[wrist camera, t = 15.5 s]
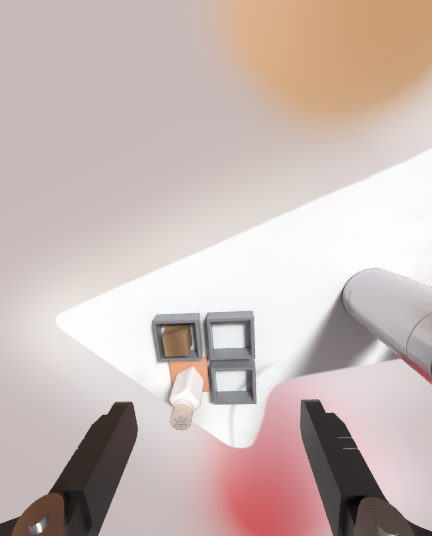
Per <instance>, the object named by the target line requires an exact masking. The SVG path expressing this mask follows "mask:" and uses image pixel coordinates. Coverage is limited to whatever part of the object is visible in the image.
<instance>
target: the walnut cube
mask: <svg viewBox="0 0 432 536" xmlns="http://www.w3.org/2000/svg"><path fill="white" fill-rule="evenodd" d="M162 339H163V345H164V352H165V357H172V356H189V353H190V349H191V345H192V336H191V329H190V323H179V324H168V325H167V327H166V329H165V331H164V333H163V335H162Z"/></svg>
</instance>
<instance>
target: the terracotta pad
mask: <svg viewBox="0 0 432 536" xmlns="http://www.w3.org/2000/svg"><path fill="white" fill-rule="evenodd" d="M169 365H170V372H171V379H172V386H173V385H174V382H175V379H176V376H177V374H178V373H180V372H182V371H184V370H185V369H187V368H189V367H191V366H193V367H195V369H196V370H197V371H198V373H199V374H200V375H201V377H202V378H203V381H204V383H203V390H202V392H209V390H210V387H209V376H208V364H207V357H202V360H192V361H169Z"/></svg>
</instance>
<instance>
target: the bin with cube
mask: <svg viewBox="0 0 432 536" xmlns="http://www.w3.org/2000/svg"><path fill="white" fill-rule="evenodd" d="M170 323H195V328H196V338H197V348H198V349H194V350H190V353H189V356H172V357H165V352H164V345H163V339H162V331H161V324H170ZM152 325H153V332H154V338H155V345H156V351H157V358H158V361H192V360H202V355H203V345H202V334H201V324H200V313H189V314H165V315H156V316H155V318H154V319H153V321H152Z"/></svg>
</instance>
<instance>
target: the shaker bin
mask: <svg viewBox="0 0 432 536" xmlns="http://www.w3.org/2000/svg"><path fill="white" fill-rule="evenodd" d="M223 370H251V371H252V391H229V392H217V384H216V372H215V371H223ZM211 376H212V387H213V399H214V404H256V372H255V362H254V359H229V360H212V362H211Z"/></svg>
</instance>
